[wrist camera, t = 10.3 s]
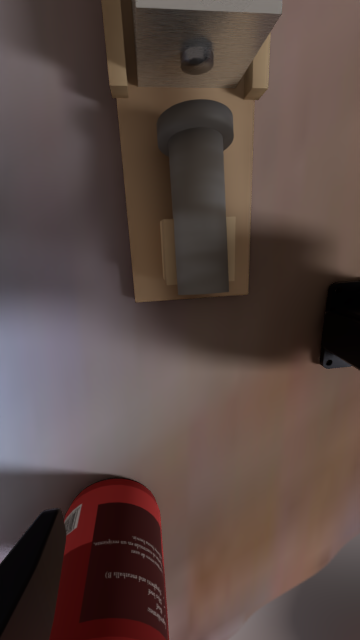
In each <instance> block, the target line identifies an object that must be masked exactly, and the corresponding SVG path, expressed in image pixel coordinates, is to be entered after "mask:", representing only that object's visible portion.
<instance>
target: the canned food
mask: <svg viewBox="0 0 360 640" xmlns="http://www.w3.org/2000/svg"><path fill="white" fill-rule="evenodd" d="M64 524H65V528H66V544H65V550H64V557H63V563H62V570H61V576H60V583H59V589H58V595H57V602H56V608H55V614H54V620H53V625H52V629H51V634H50V638H49V640H169V631H168V617H167V603H166V588H165V574H164V560H163V546H162V532H161V518H160V510H159V508H158V505H157V503H156V500H155V498H154V496H153V494H152V493H151V492H150V491H149V490H148V489H147V488H146V487H145V486H143V485H142V484H140V483H138V482H135V481H132V480H128V479H108V480H103V481H100V482H97V483H94V484H92V485H91V486H89V487H87V488H86V489H84V490H83V491H82V492H80V493H79V495H78V496H77V497H76V498H75V499H74V501H73V503H72V504H71V506H70V508H69V509H68V511H67V513H66V515H65V518H64Z"/></svg>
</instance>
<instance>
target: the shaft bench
mask: <svg viewBox="0 0 360 640" xmlns="http://www.w3.org/2000/svg"><path fill="white" fill-rule="evenodd" d="M101 3H102V14H103V24H104V34H105V44H106V54H107V64H108V75H109V85H110V90H111V94H112V98H116V100H117V110H118V121H119V132H120V142H121V153H122V164H123V175H124V185H125V196H126V207H127V217H128V228H129V239H130V250H131V260H132V271H133V282H134V292H135V303H136V302H150V301H164V300H178V299H192V298H206V297H220V296H234V295H248V285H249V255H250V224H251V194H252V163H253V133H254V102H255V100H259V98H260V97H261V96H262V95H263V94H264V93H265V91H266V90H267V89H268V79H269V57H270V35H271V32H270V33H269V35H268V36H267V38H266V40H265V41H264V43H263V44H262V46H261V48H260V49H259V51H258V52H257V54H256V56H255V57H254V59H253V60H252V62H251V64H250V65H249V67H248V68H247V70H246V72H245V73H244V75H243V76H242V78H241V79H240V81H239V83H238V84H237V86H236V87H235V88H181V87H138V79H137V66H136V53H135V39H134V26H133V13H132V0H101Z"/></svg>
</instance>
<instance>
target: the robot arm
mask: <svg viewBox="0 0 360 640" xmlns="http://www.w3.org/2000/svg"><path fill="white" fill-rule="evenodd" d="M337 287H338V291H337V292H336V291H335V290H336V288H337ZM328 360H329V361H328ZM327 361H328V362H327ZM326 362H327V363H326ZM320 364H321V365H322V366H323V367H324V368H326V369H330V368H340V367H349V366H353V367H355V368H357V369H358V370H360V280H359V281H344V282H334V283H332V284H331V285H330V286H329V289H328V297H327V305H326V313H325V318H324V326H323V334H322V343H321V355H320ZM65 544H66V528H65V524H64V520H63V515H62V511H61V510H60V509H59V508H55V509H49V510H44V511H43V512H42V513H41V514H40V515H39V516H38V517H37V519H36V520H35V521H34V522H33V524H32V525H31V526H30V527H29V529H28V530H27V531H26V532H25V534H24V535H23V536H22V537H21V539H20V540H19V541H18V542H17V544H16V545H15V546H14V547H13V549H12V550H11V551H10V552H9V554H8V555H7V556H6V557H5V559H4V560H3V561H2V562H1V564H0V640H49V638H50V634H51V629H52V625H53V620H54V614H55V608H56V602H57V595H58V589H59V583H60V576H61V570H62V563H63V557H64V550H65Z"/></svg>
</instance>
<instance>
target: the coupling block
mask: <svg viewBox="0 0 360 640" xmlns="http://www.w3.org/2000/svg"><path fill="white" fill-rule="evenodd" d="M132 13H133V26H134V39H135V53H136V66H137V79H138V87H181V88H235V87H236V86H237V84H238V83H239V81H240V79H241V78H242V76H243V75H244V73H245V72H246V70H247V68H248V67H249V65H250V64H251V62H252V60H253V59H254V57H255V56H256V54H257V52H258V51H259V49H260V48H261V46H262V44H263V43H264V41H265V40H266V38H267V36H268V35H269V33H270V32H271V30H272V29H273V27H274V25H275V24H276V22H277V21H278V19H279V17H280V16H281V14H282V0H132Z"/></svg>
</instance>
